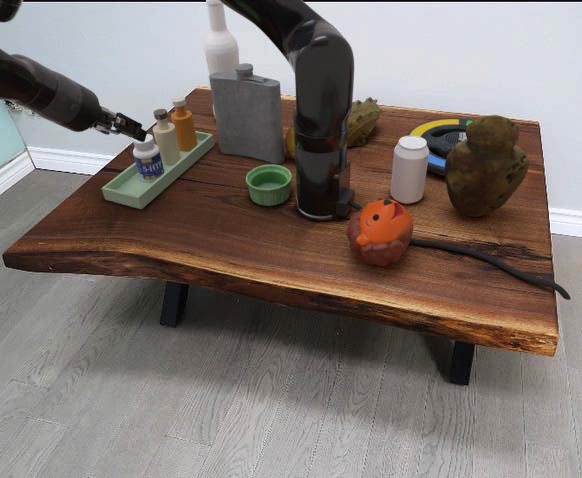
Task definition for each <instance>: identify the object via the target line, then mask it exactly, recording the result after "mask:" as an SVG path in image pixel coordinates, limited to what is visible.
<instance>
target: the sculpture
mask: <svg viewBox="0 0 582 478" xmlns="http://www.w3.org/2000/svg"><path fill="white" fill-rule="evenodd" d="M473 120H474V121H472V122H471V123H470V124H468V126H467V127H466V128H465V133H466V137H467V139H466V140H464V141H462V142H459V143H458V144H456V146H455V147H454V148H453V149H452V151H451V152H450V153H449V154H448V155H447V158H446V162H445V169H444V174H445V176H444V179H445V180H444V181H445V184H446V190H447V195H448V198H449V201H450V203H451V205H452V207H453V208H454V209H455V210H456V211H457V212H459V213H461V214H463V215H465V216H467V217H472V218H477V217H482V216H487V215H490V214H492V213H494V212H496V211H498V210H499V209H501V207H503V206H504V205H505V204H506V203H507V201H508V200H509V199H510V198H511V197H512V196H513V194H514V193H515V192H516V191H517V189H518V188H519V187H520V186H521V184H522V183H523V181H524V179H525V178H526V176H527V173H528V170H529V167H530V159H529V158H528V156H527V154H526V152H525V151H524V149H523V148H521V147H520V146H518V145H517V143H518V141H519V138H520V137H519V136H520V135H519V134H520V130H519V125H517V124H516V122H514V121H513V120H511V119H510V118H508V117H506V116H502V115H497V114H491V115H485V116H481V117H479V118H478V117H477V118H476V119H473ZM515 144H516V145H515Z"/></svg>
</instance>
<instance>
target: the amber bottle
mask: <svg viewBox="0 0 582 478" xmlns="http://www.w3.org/2000/svg"><path fill="white" fill-rule="evenodd" d="M171 103H172V106H173V107H174V110H175V111H174V112H172V113H171V115H170V119H171V123H172V124H174V125H175V129H176V134H177V139H178V144H179V148H180V151H183V152H189V151H191V150H193V149H194V148H195V147H196V146H197V145H198V143H197V138H196V132H195V131H196V127H195V122H194V116H193V112H192V111H191V110H189V109H186V104H187V101H186V98H185V97H184V96H181V95H180V96H174V97H173V98H171Z"/></svg>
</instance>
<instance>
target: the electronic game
mask: <svg viewBox="0 0 582 478" xmlns="http://www.w3.org/2000/svg"><path fill="white" fill-rule="evenodd" d="M474 120H475V119H472V118H471V119H470V118H461V117H445V118H443V117H442V118H436V119H431V120H427V121H424V122H421V123H419V124H417V125H416V126H414V127H413V128H411V129H410V130H409V131H408V132H407V133H406V134H405V136H409V135H414V136H419V137H422V138H424V139H425V140H426V142H427V144H426V145H427V147H428V149H429V157H428V164H427V171H428V172H430V173H432V174H436V175H438V176H443V177H445V174H444V169H445V162H446V158H447V155H448V154H449V153H450V152H451V151H452V149H453V148H454V147H455V146H456V144H458V143H459V142H462V141H464V140H466V139H467V137H466V133H465V128H466V127H467V126H468V124H470V123H471V122H472V121H474ZM515 145H516V146H517V143H516V144H515ZM432 151H433V152H437V153H438V155H436V154H435V153H433V152H432Z"/></svg>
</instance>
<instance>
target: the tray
mask: <svg viewBox="0 0 582 478" xmlns="http://www.w3.org/2000/svg"><path fill="white" fill-rule="evenodd" d="M195 132H196V138H197V143H198V145H197V146H196V147H195V148H194V149H193V150H191V151H189V152H183V151H180V153H181V158H182V159H181V160H180V161H178V162H177V163H176V164H175V165H173V166H165V165H163V168H164V174H163V175H162V176H161V177H159V178H158V179H157V180H156V181H154V182H145V181H142V180H141V179H140V177H139V174H138V170H137V167H136V163H135V162H133V163H132V164H131V165H130V166H128V167H127V168H126V169H125V170H123V171H122V172H120V173H119V174H118V175H117V176H114V178H113V179H112V180H110V181H109V182H107V184H105V185H103V186H102V187H101V191H102V195H103V198H104V199H105V200H106V201H109V202H112V203H116V204H120V205H124V206H127V207H130V208H134V209H138V210H143V209H144V208H146V206H148V205H149V203H151V202H152V201H154V200H155V198H156V197H157V196H159V195H160V194H161V193H163V191H164V190H166V189H167V188H168V187H169V186H170V185H171V184H172V183H173V182H175V181H176V180H177V179H178V178H179V177H181V176H182V174H184V173H185V172H186V171H187V170H188V169H189V168H191V167H192V166H193V165H194V164H195V163H196V162H197V161H199V160H200V159H201V158H202V157H203V156H204V155H205V154H206V153H208V152H209V151H210V150H211V149H212V148H213V147H214V146H215V144H216V143H215V138H214V137H215V136H214V134H213V133H209V132H208V133H207V132H202V131H198V130H195Z"/></svg>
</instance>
